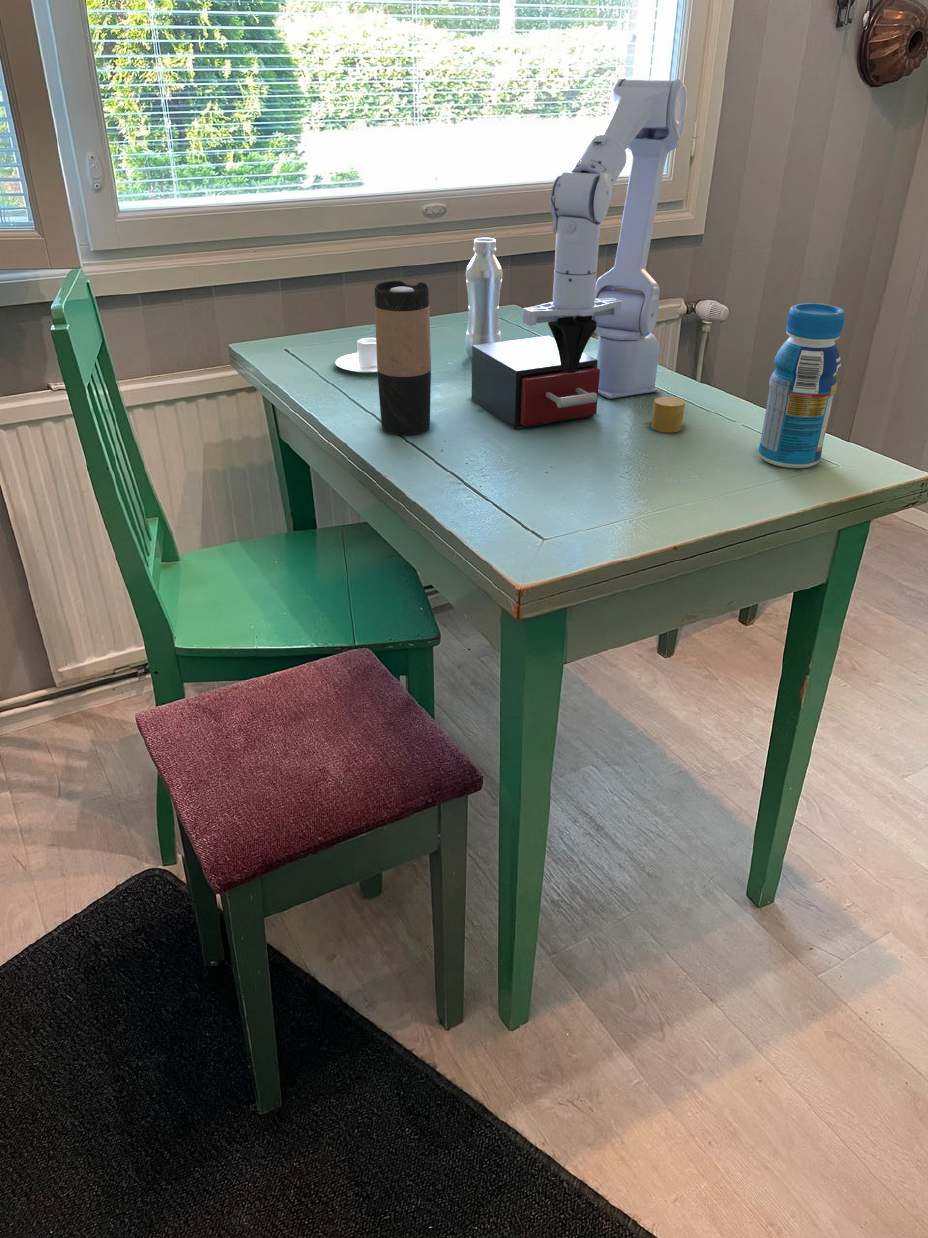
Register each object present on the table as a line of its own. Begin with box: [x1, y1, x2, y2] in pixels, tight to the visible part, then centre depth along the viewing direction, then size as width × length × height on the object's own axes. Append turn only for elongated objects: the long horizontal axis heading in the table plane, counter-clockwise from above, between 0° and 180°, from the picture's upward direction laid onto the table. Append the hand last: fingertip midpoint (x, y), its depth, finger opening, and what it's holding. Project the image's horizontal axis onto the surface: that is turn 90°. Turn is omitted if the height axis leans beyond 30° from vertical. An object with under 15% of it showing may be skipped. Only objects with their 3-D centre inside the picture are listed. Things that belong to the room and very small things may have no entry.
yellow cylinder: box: [651, 395, 686, 434], centre depth 137 cm, size 4×4×4 cm
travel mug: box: [373, 280, 432, 437], centre depth 133 cm, size 8×8×20 cm
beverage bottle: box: [758, 302, 846, 469], centre depth 123 cm, size 8×8×20 cm
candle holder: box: [335, 337, 378, 374], centre depth 163 cm, size 12×12×4 cm
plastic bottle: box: [464, 237, 504, 359], centre depth 163 cm, size 6×7×20 cm
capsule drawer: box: [519, 367, 600, 426], centre depth 140 cm, size 18×12×7 cm
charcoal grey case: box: [471, 335, 598, 430], centre depth 143 cm, size 15×14×9 cm
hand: (568, 370), depth 133 cm, fingers closed
